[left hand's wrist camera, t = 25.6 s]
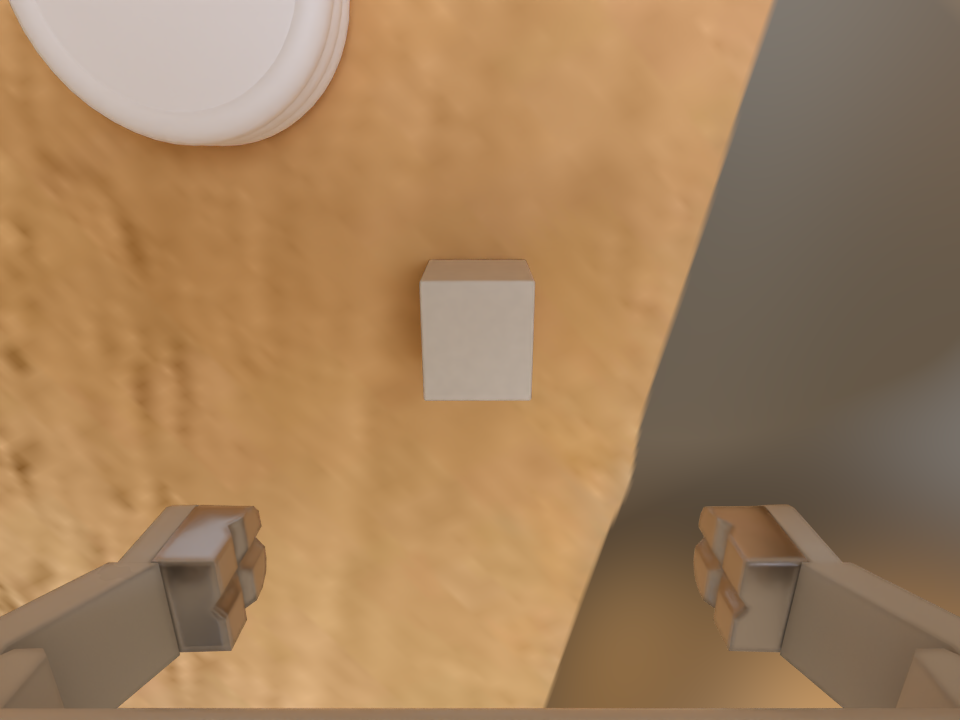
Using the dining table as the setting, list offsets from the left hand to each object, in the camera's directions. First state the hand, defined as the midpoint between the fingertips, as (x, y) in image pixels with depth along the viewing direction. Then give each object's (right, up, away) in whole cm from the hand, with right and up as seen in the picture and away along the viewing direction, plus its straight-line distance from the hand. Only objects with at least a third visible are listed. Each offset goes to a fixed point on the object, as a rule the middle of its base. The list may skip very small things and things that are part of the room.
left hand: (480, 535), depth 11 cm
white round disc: (-9, +16, +10) cm, 21 cm away
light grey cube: (0, +5, +14) cm, 15 cm away
